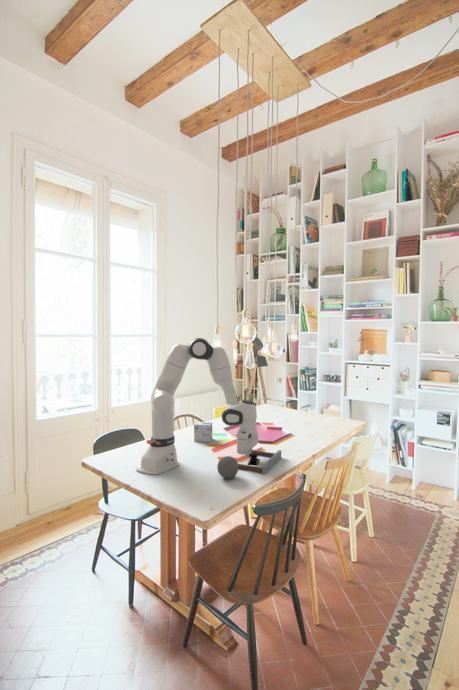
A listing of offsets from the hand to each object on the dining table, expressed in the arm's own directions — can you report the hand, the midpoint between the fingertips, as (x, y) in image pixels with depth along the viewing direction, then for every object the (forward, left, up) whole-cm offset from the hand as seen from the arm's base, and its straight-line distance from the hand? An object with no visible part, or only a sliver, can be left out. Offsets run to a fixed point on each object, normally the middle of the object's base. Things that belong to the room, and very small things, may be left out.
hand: (248, 457), depth 193 cm
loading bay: (0, 0, -2) cm, 2 cm away
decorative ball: (-23, +1, -2) cm, 23 cm away
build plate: (0, -3, -3) cm, 4 cm away
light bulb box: (+20, +40, -2) cm, 44 cm away
